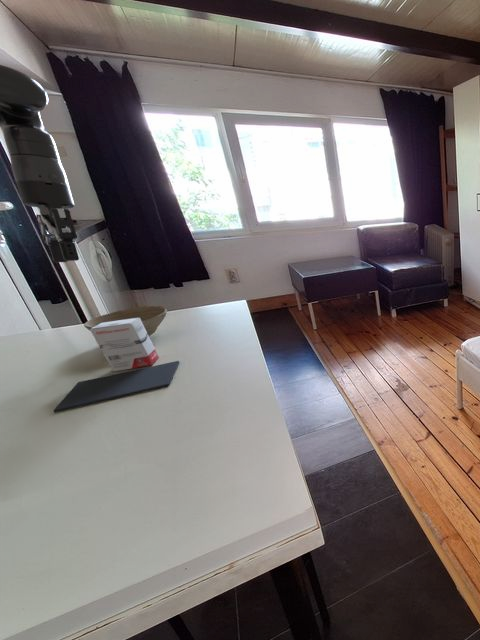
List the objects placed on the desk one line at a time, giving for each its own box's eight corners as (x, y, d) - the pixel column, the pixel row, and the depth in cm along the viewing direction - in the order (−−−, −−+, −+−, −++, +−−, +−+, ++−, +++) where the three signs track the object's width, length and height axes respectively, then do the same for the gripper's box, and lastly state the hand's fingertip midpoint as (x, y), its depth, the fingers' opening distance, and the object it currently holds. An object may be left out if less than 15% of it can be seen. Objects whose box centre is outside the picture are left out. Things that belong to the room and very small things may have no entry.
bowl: (178, 322, 120) (168, 300, 117) (173, 342, 106) (161, 317, 103) (105, 337, 112) (92, 313, 108) (90, 360, 98) (74, 333, 94)
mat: (54, 412, 76) (52, 410, 76) (79, 384, 87) (78, 381, 86) (169, 385, 84) (168, 383, 84) (179, 362, 94) (178, 360, 94)
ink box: (160, 357, 98) (140, 316, 92) (152, 365, 94) (131, 323, 88) (121, 363, 95) (99, 321, 90) (112, 372, 91) (88, 329, 86)
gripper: (8, 185, 77) (33, 263, 81) (23, 173, 70) (49, 260, 74) (59, 190, 84) (80, 262, 87) (77, 180, 76) (99, 259, 80)
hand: (66, 261), depth 81 cm, fingers open, 8 cm apart
